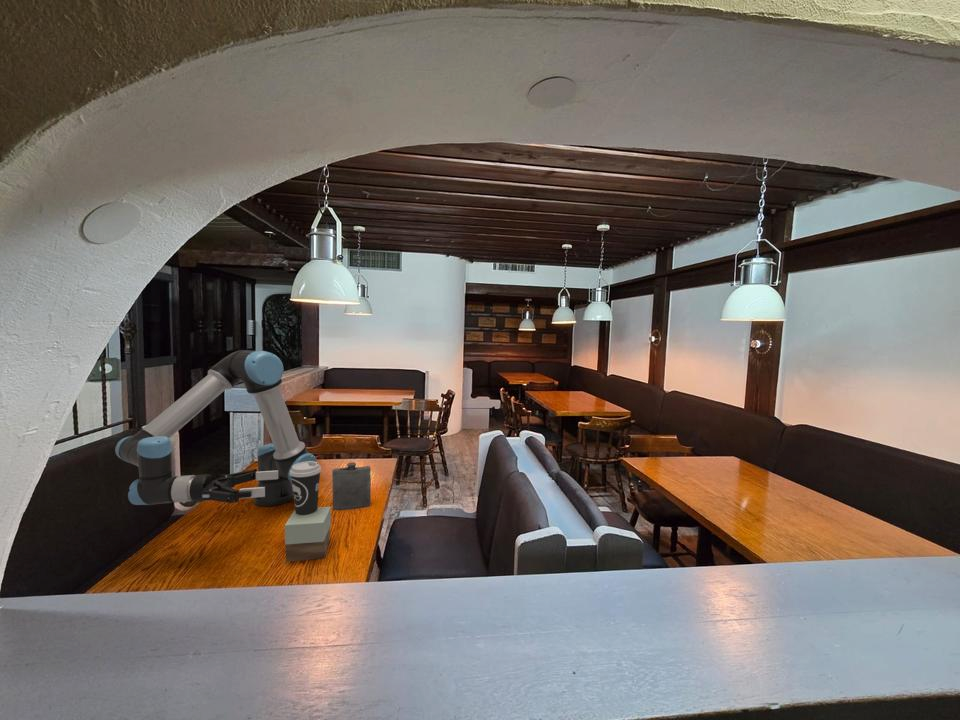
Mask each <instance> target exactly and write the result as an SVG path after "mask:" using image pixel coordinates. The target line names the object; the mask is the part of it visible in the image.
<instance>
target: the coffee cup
mask: <svg viewBox="0 0 960 720" xmlns="http://www.w3.org/2000/svg"><path fill="white" fill-rule="evenodd" d="M322 470H323V469H322V467H321V465H320V463H319V462H318V461H317V462H314V461H306V462H300V463H297V464H295V465H293V466H292V469H291V470H290V473H289V475H290V476H291V479H292V487H293V495H294V498H293V501H294V510H295V512H296V514H298V515H308V514H311V513H314V512H315V511H317V507H318V505H319V492H320V491H319V489H320V480H321V479H320V478H321V472H322Z"/></svg>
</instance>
